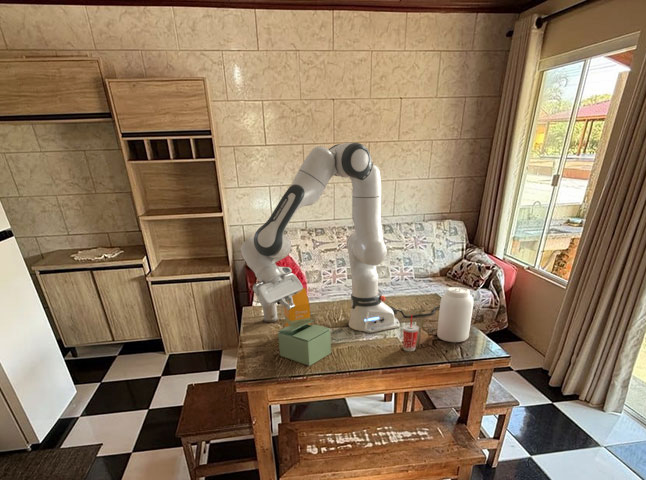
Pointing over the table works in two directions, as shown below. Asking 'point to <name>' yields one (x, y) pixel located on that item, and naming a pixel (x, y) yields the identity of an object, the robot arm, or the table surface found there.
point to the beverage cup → (410, 336)
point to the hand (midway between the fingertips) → (291, 308)
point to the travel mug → (270, 313)
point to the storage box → (305, 344)
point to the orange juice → (298, 309)
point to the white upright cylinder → (455, 315)
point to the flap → (295, 326)
